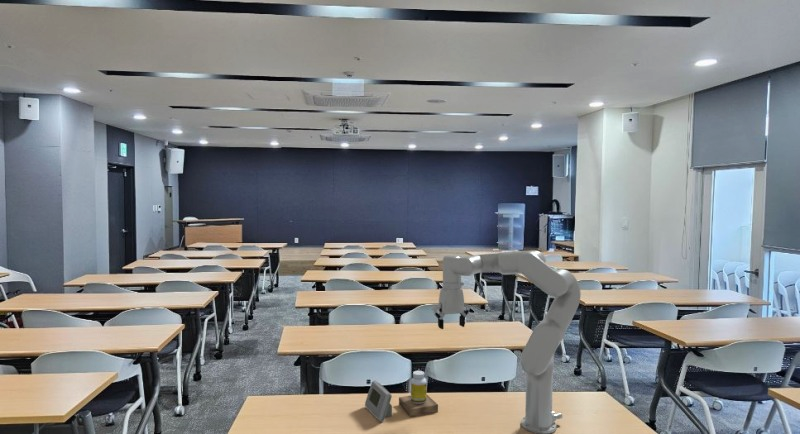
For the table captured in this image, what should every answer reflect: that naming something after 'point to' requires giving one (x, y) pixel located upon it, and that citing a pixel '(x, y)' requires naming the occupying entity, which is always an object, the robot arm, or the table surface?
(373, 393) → the digital clock
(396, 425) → the table surface
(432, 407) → the walnut block
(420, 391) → the pill bottle
